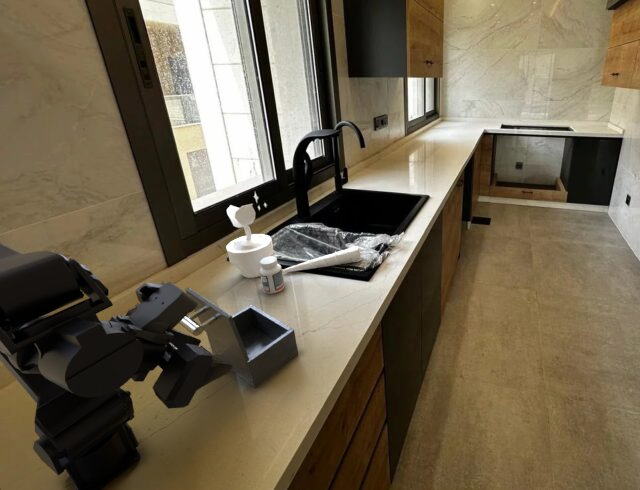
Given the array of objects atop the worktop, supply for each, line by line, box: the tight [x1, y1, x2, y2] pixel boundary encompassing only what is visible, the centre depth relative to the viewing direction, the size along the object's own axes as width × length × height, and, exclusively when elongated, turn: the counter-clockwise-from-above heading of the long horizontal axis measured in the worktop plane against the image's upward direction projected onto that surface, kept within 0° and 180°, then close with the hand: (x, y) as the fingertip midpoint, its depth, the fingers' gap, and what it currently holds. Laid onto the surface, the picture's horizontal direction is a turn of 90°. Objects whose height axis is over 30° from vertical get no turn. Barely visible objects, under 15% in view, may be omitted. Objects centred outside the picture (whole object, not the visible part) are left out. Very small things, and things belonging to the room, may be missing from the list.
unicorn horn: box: [282, 245, 362, 273], centre depth 98 cm, size 5×24×5 cm, turn 106°
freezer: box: [205, 304, 299, 389], centre depth 66 cm, size 10×15×6 cm, turn 58°
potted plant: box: [226, 192, 275, 279], centre depth 91 cm, size 13×12×25 cm
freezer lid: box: [178, 287, 249, 362], centre depth 57 cm, size 10×15×4 cm
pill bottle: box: [259, 255, 286, 295], centre depth 87 cm, size 5×5×9 cm
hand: (214, 355), depth 51 cm, fingers open, 9 cm apart
